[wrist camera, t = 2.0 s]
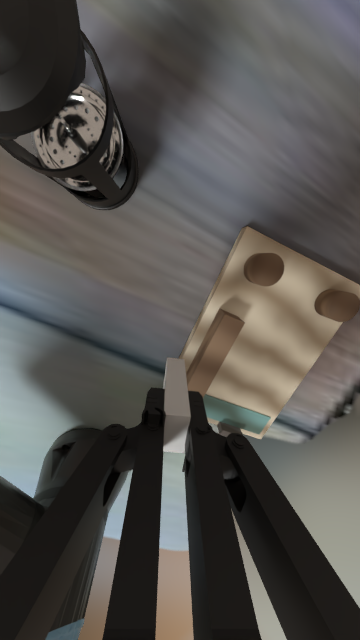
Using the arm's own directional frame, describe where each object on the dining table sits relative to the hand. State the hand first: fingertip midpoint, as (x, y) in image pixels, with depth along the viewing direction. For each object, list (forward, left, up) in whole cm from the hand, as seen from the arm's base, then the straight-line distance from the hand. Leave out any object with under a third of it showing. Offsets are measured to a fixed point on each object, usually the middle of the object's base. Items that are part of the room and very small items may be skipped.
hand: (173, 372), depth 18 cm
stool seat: (+1, -13, -14) cm, 20 cm away
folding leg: (-4, -6, -12) cm, 14 cm away
